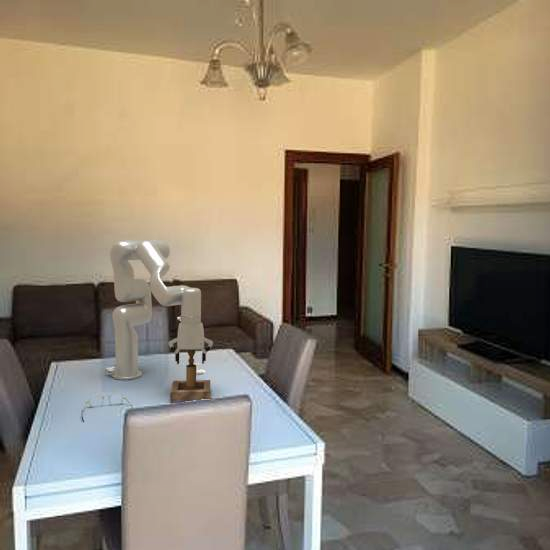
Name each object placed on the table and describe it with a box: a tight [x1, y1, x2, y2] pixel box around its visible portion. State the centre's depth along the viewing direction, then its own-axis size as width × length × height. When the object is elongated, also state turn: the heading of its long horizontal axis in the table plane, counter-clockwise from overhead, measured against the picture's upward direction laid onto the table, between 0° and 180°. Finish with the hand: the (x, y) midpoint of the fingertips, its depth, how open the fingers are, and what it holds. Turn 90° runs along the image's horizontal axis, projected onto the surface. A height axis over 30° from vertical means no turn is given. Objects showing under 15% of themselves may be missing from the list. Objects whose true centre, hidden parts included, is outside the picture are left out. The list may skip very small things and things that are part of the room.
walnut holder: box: [169, 379, 211, 404], centre depth 203 cm, size 15×15×4 cm
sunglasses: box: [81, 392, 134, 423], centre depth 184 cm, size 17×15×5 cm
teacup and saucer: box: [193, 362, 206, 375], centre depth 237 cm, size 9×8×4 cm
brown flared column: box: [183, 350, 200, 390], centre depth 202 cm, size 7×6×18 cm
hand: (190, 363), depth 202 cm, fingers open, 9 cm apart
